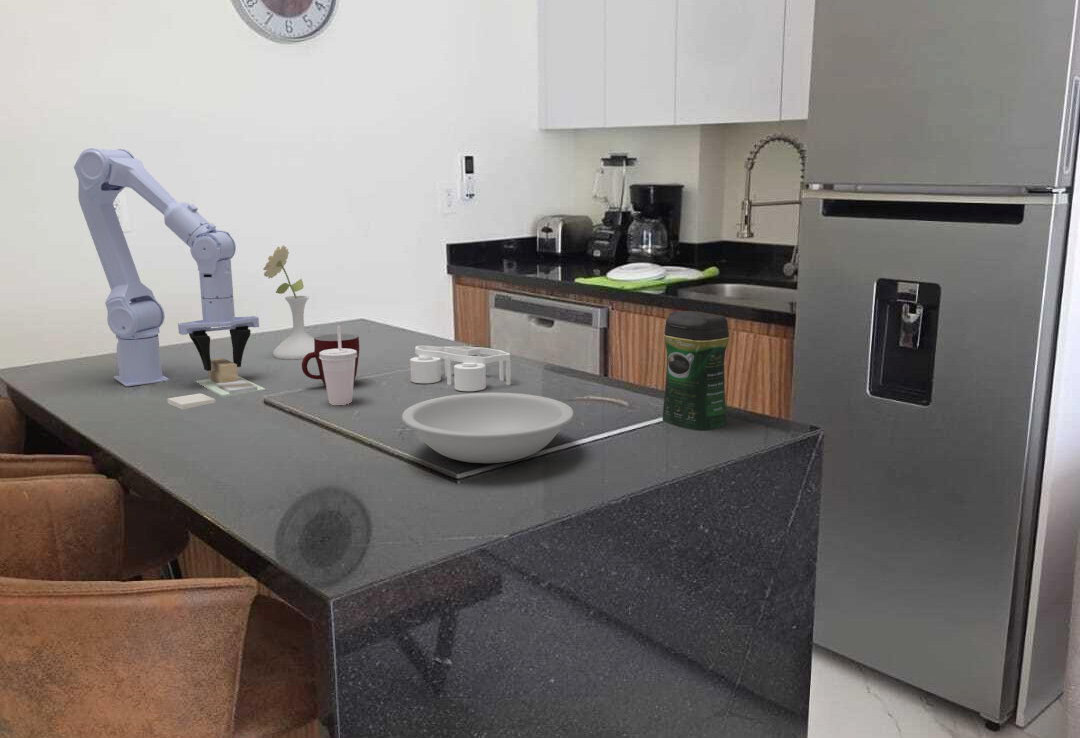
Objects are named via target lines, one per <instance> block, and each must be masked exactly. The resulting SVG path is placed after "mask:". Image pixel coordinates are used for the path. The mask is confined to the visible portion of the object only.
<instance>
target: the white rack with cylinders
mask: <svg viewBox="0 0 1080 738" xmlns="http://www.w3.org/2000/svg"><path fill="white" fill-rule="evenodd" d="M414 349H415V350H414V352H415V355H416V356H414V357H411V358H410V359H409V361H410V381H411V382H412V383H415V384H434V383H439V382H441V381H442V365H441V363H442V360H441V359H443V360H444V377H446V382H447V383H446V385H447V386H451V385H452V381H453V380H452V361H454V362H460V363H458V364H455V365H453V373H454V375H453V376H454V382H453V383H454V389H455V390H456V391H461V392H477V391H483V390H485V389H486V388H487V377H486V376H487V375H486V372H487V371H486V370H487V369H486V364H491V363H499V366H498V368H499V373H498V375H499V382H504V381H505V380H506V381H505V382H506V386H511V385H512V383H511V379H512V376H511V373H512V372H511V369H512V368H511V365H512V363H511V354H510V352H505V350H500V349H493V348H487V347H479V346H477V347H476V346H453V345H451V346H432V345H416V346H415V348H414ZM482 355H488V356H482ZM504 362H505V367H504ZM504 369H505V371H504ZM505 374H506V375H505ZM505 378H506V379H505Z"/></svg>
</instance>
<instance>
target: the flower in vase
mask: <svg viewBox="0 0 1080 738" xmlns="http://www.w3.org/2000/svg"><path fill="white" fill-rule="evenodd" d="M289 253H290V251H289V248H287V247H286V246H285V245H284V244H283V245H281V247H280V246H277V247H276V249H274V251H273V254H272V255H269V256H268V258H267V260H268V261H267V262H266V263H265V266H264V267H263V271H264V273H263V276H264V277H266V278H268V279H269V280H270V279H273V278H274V277H276V276H277V275H278V274H279V273H281V271H282V270H283V272H284V274H285V277H286V280H287V282H283V283H282V284H280V285H279V286H278V287H277V289H276V291H275V293H276V294H279V295H280V294H281V295H282V294H285V293H286V292H287V290H289V288H290V289H291V291H292V293H293V295H290V296H286V297H285V296H284V299H285V300H286V302H287V303H288V305H289V307H290V310H291V315H292V316H291V317H292V331H291V333H290V334H289V335H288V336H287V337H286V338H285V339H283V340H282V342H280V343H279V344H278V345H277V346H276V348H274V350H273V352H272V355H273V358H276V359H279V360H290V361H292V360H296V361H297V360H303V359H304V357H305V356H306V355H307V354H308V353H311V352H314V338H315V337H313V336H311V335H310V334H309V333H308V332H307V330H306V328H305V319H304V316H305V315H304V314H305V306H306V304H307V302H308V300H309V298H310V296H307V295H296V293H297V292H299V291H301V290H304V286H305V285H304V282H303V279H302V278H300V279H298V280H296V282H294V283H292V284H291V281H290V277H289V275H288V273H287V271H286V269H285V266H286V264H287V262H288V261H287V260H288V259H289V258H288V257H289Z"/></svg>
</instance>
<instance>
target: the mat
mask: <svg viewBox="0 0 1080 738" xmlns="http://www.w3.org/2000/svg"><path fill="white" fill-rule="evenodd" d="M238 380H244V381H246V382H249V383H251V384H253V385H255V386H257V390H253V391H246V392H239V393H232V394H230V393H228V392H226V391H224V390H222V389H220V388H218V387H217V385H216V382H214V381H213V380H211V379H209V378H208V379H200V380H199V379H197V380H196V381H195V383H196V382H197V383H196V384H198V383H199V384H198V385H200V386H201V385H202V386H201V387H203V386H204V388H205V389H207V390H208V391H210V392H212V393H213V394H216V396H219V397H220V398H229V397H233V396H238V395H240V396H241V395H244V394H249V393H250V394H251V393H255V392H262V391H266V388H265V387H262V386H260V385H258V384H256V383H254V382H252V381H250V380H247V379H246V378H244V377H242V376H239V375H238Z"/></svg>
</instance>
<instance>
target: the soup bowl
mask: <svg viewBox="0 0 1080 738" xmlns="http://www.w3.org/2000/svg"><path fill="white" fill-rule="evenodd" d="M574 413H575V412H574V410H573V408H572V407H571V406H570V405H568V404H567V403H564V402H562V401H560V400H557V399H554V398H550V397H547V396H540V395H535V394H534V395H533V394H528V393H517V392H515V393H514V392H472V393H471V392H470V393H462V394H461V393H459V394H451V395H446V396H439V397H436V398H431V399H427V400H424V401H420V402H417V403H415V404H413V405H411V406H409V407H408V408H406V409H405V410H404V411H403V413H402V415H401V419H402V421H403V423H404V424H405V425H406V426H408V428H411V429H413V430H415V432H416V433H417V434H418V436H419V437H420V439H421V440H422V441H423V442H424V443H425V444H426V445H427V446H428V447H429V448H430V449H432V450H433V451H435V452H436V453H438V454H440V455H441V456H444V457H445V458H448V459H452V460H456V461H460V462H465V463H471V464H475V463H476V464H499V463H507V462H513V461H517V460H521V459H524V458H527V457H530V456H532V455H534V454H537V453H538V452H539V451H541V450H542V449H544V448H545V447H547V446H548V445H549V444H550V443H551V442H552V441H553V439H554V438H555V437H556V436H557V434H558V433H559V431H560V430H561V427H563V426H565V425H567V424H569V423H570V422H571V421H572V420H573V418H574V415H575V414H574Z"/></svg>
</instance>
